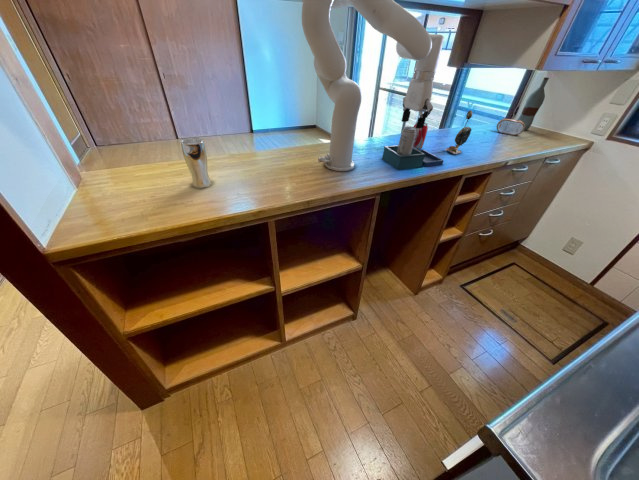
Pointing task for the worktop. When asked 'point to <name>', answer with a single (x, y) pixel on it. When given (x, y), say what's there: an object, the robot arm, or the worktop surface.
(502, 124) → the tin
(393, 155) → the basket
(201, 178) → the beer glass
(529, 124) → the bottle
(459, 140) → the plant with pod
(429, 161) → the tray
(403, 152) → the energy drink can
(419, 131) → the soda can
